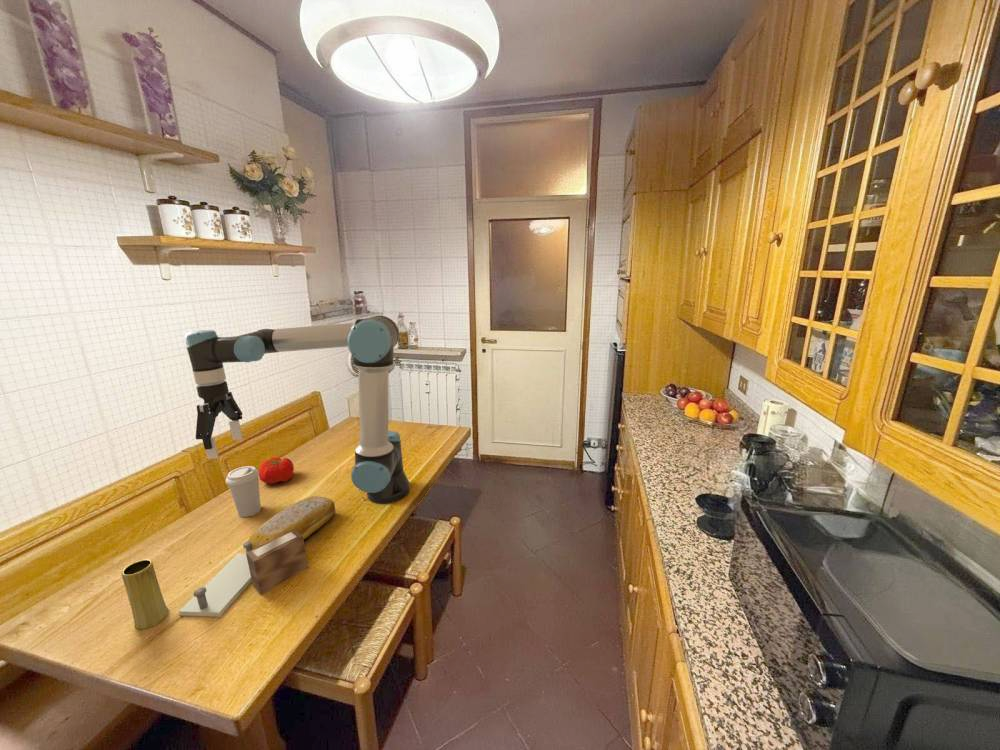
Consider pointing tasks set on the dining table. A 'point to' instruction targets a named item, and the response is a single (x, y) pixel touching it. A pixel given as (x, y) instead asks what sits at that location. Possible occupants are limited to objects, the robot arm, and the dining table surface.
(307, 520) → the bread
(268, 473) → the tomato
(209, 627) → the dining table surface
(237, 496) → the coffee cup
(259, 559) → the brown block
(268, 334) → the robot arm
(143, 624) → the vase
